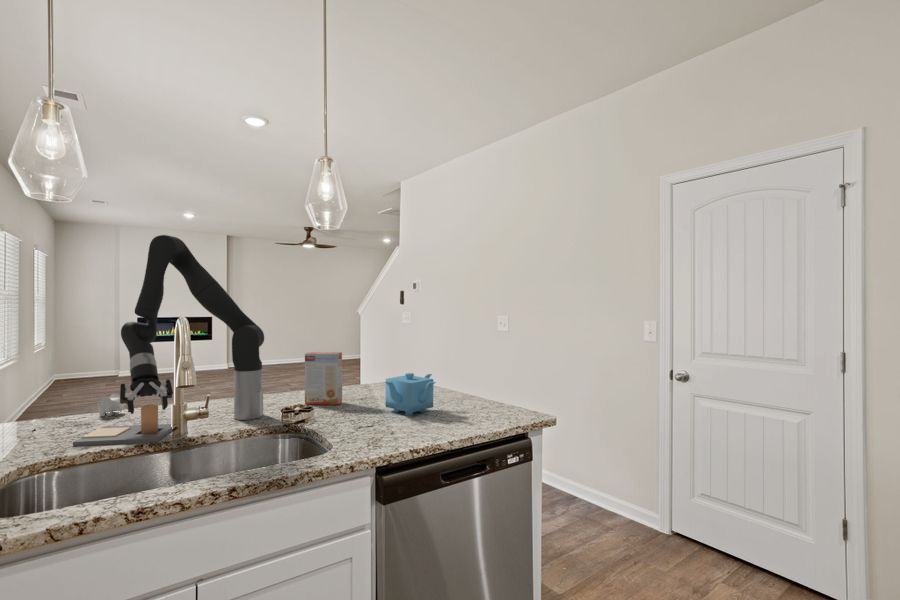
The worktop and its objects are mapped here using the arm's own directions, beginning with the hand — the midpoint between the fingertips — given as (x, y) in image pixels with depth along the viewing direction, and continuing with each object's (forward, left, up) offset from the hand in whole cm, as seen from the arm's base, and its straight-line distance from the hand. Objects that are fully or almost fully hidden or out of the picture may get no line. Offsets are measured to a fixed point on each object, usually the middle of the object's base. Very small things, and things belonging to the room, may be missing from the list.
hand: (148, 410), depth 147 cm
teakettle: (-85, -15, -8) cm, 86 cm away
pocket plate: (+5, +1, -8) cm, 9 cm away
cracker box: (-51, -35, -8) cm, 62 cm away
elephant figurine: (+24, -29, -8) cm, 39 cm away
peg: (-1, +1, -8) cm, 8 cm away
